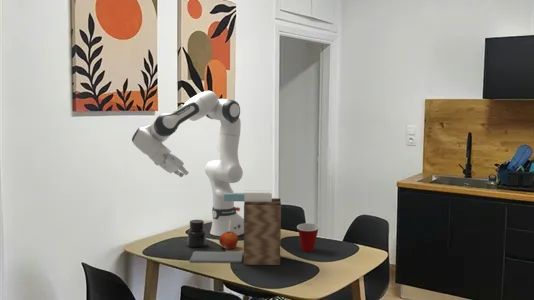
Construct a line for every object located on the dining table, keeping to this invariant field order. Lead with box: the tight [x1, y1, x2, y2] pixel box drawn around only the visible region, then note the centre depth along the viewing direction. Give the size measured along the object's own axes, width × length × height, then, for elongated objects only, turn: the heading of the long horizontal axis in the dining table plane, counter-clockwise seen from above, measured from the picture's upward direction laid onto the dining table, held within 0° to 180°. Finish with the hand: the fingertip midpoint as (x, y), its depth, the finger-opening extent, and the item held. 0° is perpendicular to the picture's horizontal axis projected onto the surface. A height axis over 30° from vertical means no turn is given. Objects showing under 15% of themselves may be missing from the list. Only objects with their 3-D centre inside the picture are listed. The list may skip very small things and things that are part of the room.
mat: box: [189, 250, 244, 264], centre depth 231 cm, size 23×13×1 cm, turn 90°
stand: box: [243, 197, 282, 266], centre depth 227 cm, size 16×14×27 cm
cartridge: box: [224, 190, 273, 202], centre depth 226 cm, size 21×6×5 cm, turn 90°
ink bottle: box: [187, 219, 207, 248], centre depth 249 cm, size 10×9×12 cm
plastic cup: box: [296, 222, 320, 253], centre depth 243 cm, size 11×11×12 cm
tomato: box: [219, 231, 239, 250], centre depth 246 cm, size 9×9×8 cm
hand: (184, 175), depth 237 cm, fingers open, 8 cm apart
